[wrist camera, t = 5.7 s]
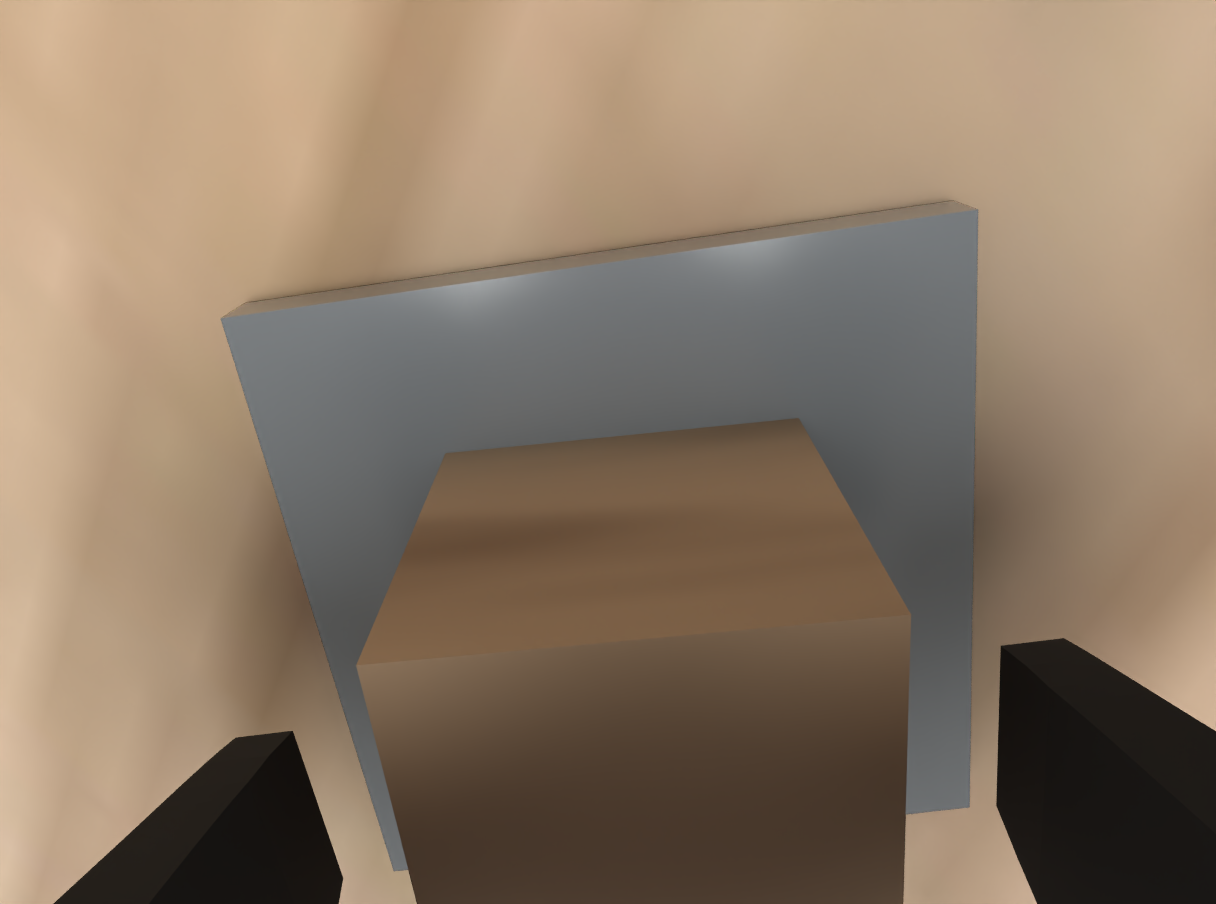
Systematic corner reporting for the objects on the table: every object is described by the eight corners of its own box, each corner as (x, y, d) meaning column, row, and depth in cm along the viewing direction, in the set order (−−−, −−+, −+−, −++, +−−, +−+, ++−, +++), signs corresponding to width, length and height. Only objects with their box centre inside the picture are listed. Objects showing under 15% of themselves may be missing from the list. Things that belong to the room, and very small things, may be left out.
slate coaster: (951, 770, 15) (969, 807, 14) (403, 832, 15) (393, 871, 14) (953, 200, 11) (978, 209, 10) (244, 303, 12) (220, 318, 11)
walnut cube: (806, 708, 13) (900, 1001, 9) (498, 734, 13) (451, 1035, 9) (798, 417, 11) (911, 614, 7) (445, 452, 12) (355, 666, 7)
